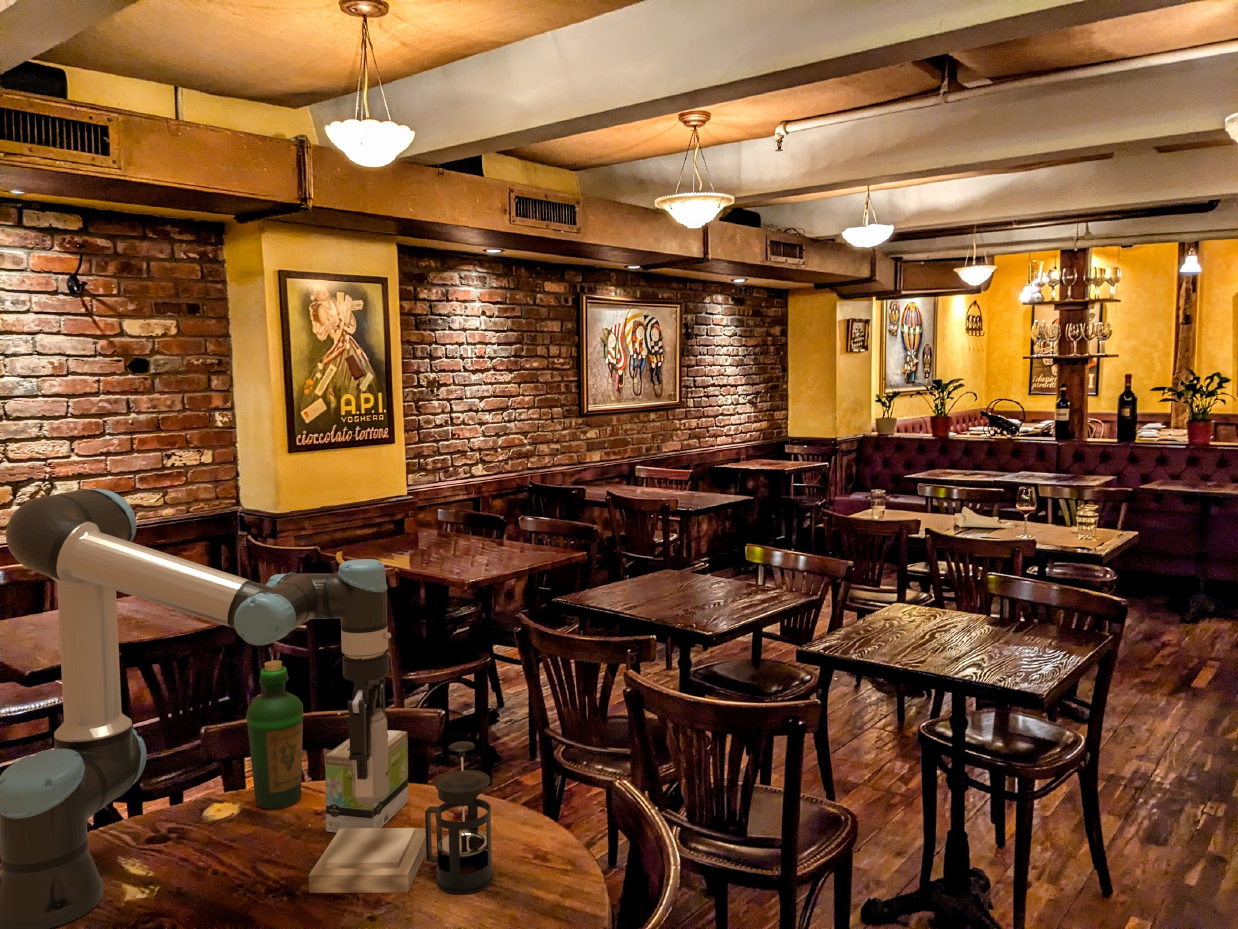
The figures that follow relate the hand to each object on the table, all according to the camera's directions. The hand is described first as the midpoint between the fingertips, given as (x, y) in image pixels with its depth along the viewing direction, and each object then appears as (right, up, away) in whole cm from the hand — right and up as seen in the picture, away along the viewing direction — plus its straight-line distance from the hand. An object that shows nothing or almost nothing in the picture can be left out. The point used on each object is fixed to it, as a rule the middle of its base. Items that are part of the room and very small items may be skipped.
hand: (370, 787), depth 156 cm
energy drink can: (0, -2, 0) cm, 2 cm away
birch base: (0, -14, +1) cm, 14 cm away
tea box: (-6, -13, +20) cm, 25 cm away
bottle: (-26, -13, +27) cm, 40 cm away
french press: (+16, -14, -3) cm, 22 cm away
